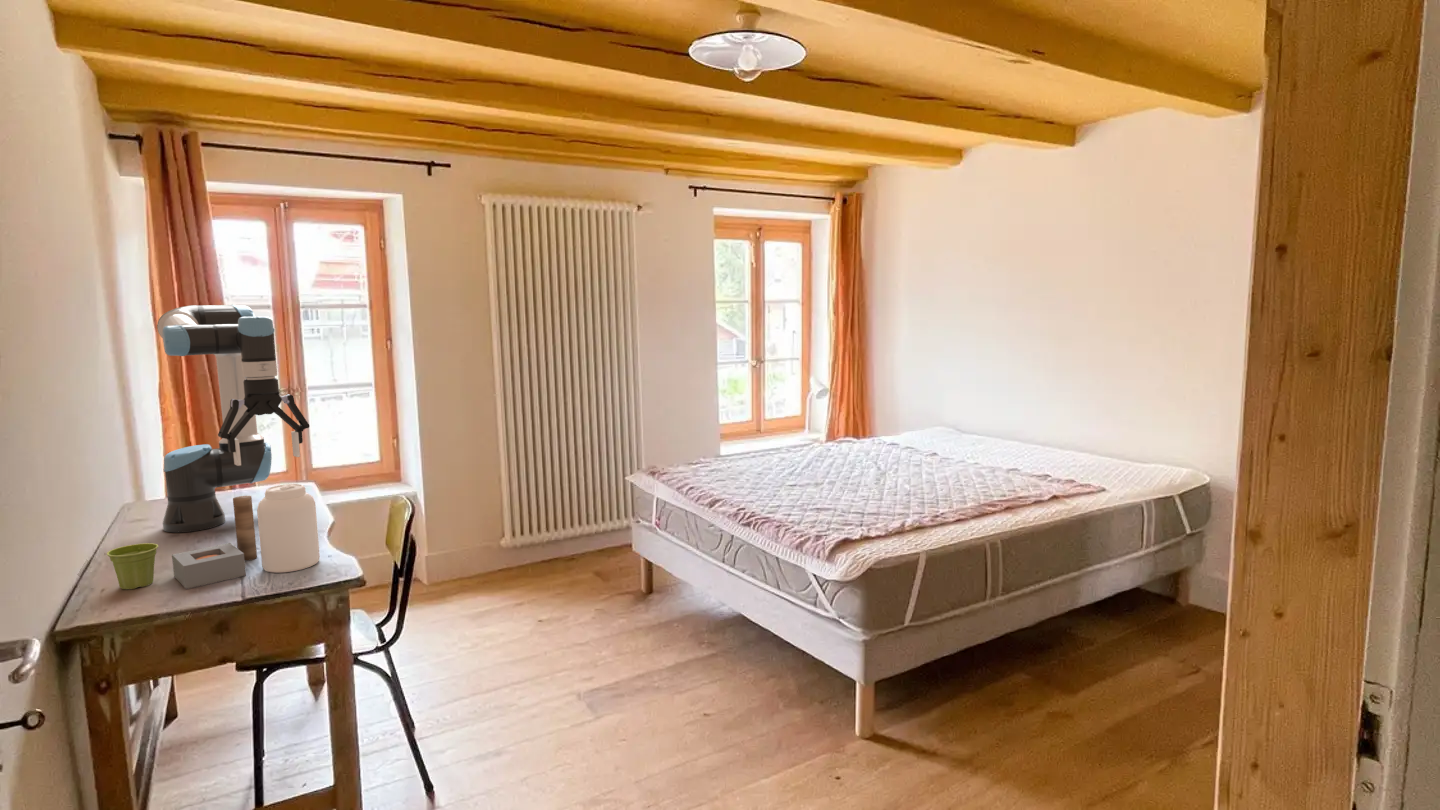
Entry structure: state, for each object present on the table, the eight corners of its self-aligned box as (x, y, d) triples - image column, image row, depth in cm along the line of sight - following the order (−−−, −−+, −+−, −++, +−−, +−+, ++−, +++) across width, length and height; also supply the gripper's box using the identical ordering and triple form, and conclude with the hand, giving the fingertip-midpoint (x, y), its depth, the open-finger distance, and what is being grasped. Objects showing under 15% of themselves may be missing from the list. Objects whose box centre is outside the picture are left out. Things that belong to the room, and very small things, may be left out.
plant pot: (129, 578, 179) (125, 543, 178) (171, 577, 180) (167, 542, 179) (100, 593, 170) (96, 556, 169) (145, 591, 171) (140, 554, 170)
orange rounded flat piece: (194, 565, 180) (193, 558, 180) (218, 560, 184) (217, 553, 183) (199, 570, 177) (198, 563, 176) (224, 565, 180) (223, 557, 180)
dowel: (236, 558, 193) (230, 497, 191) (254, 554, 196) (248, 494, 194) (241, 562, 190) (235, 500, 188) (259, 558, 193) (253, 497, 191)
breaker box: (174, 576, 180) (171, 554, 180) (232, 564, 189) (230, 542, 188) (186, 589, 172) (183, 566, 171) (246, 575, 181) (243, 553, 180)
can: (282, 556, 194) (275, 480, 192) (330, 556, 194) (324, 480, 191) (251, 574, 182) (243, 493, 179) (301, 574, 181) (294, 492, 179)
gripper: (207, 382, 179) (216, 470, 181) (318, 375, 197) (325, 454, 200) (198, 381, 184) (206, 466, 186) (307, 373, 202) (314, 451, 205)
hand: (268, 460), depth 193 cm, fingers open, 13 cm apart
